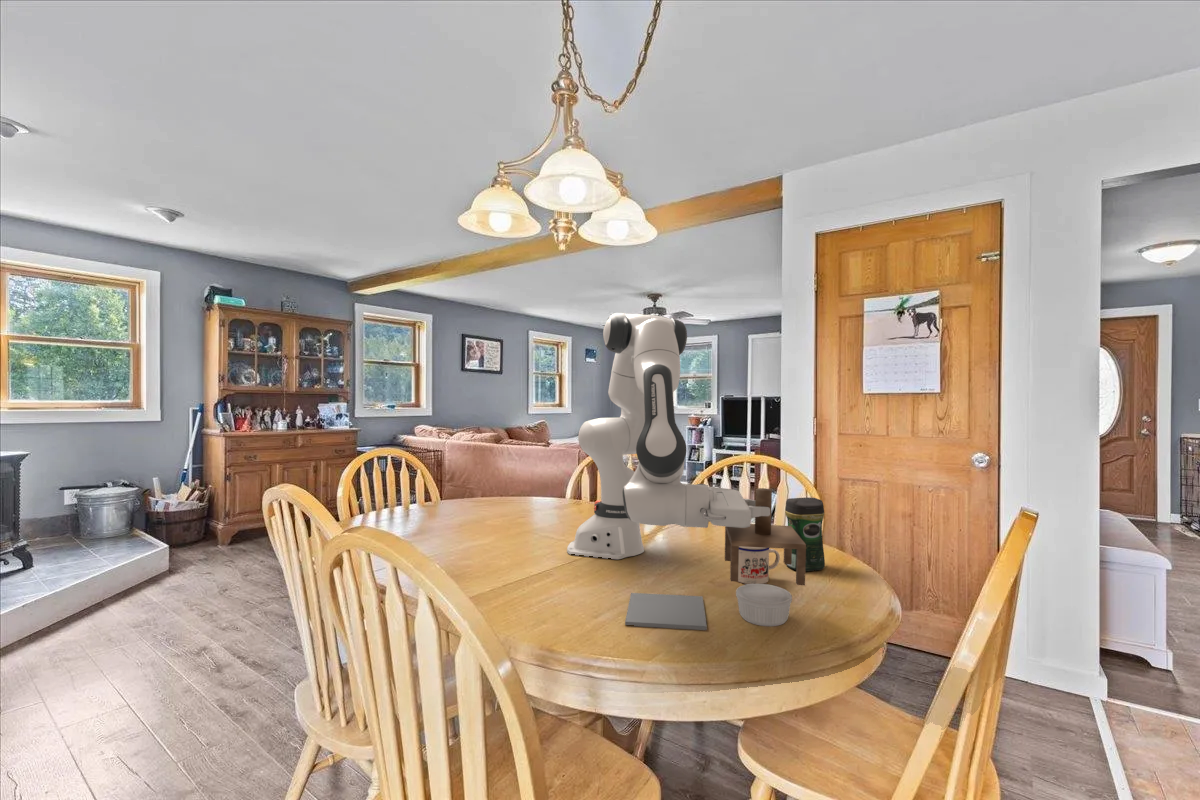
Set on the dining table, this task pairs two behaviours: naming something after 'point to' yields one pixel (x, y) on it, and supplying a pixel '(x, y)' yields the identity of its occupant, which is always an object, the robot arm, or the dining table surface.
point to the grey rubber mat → (666, 611)
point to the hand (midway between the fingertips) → (767, 508)
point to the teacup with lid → (755, 564)
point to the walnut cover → (765, 539)
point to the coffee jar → (807, 529)
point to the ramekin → (763, 604)
